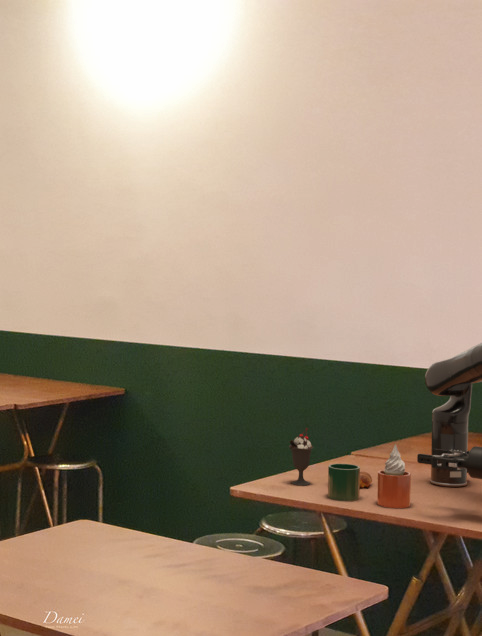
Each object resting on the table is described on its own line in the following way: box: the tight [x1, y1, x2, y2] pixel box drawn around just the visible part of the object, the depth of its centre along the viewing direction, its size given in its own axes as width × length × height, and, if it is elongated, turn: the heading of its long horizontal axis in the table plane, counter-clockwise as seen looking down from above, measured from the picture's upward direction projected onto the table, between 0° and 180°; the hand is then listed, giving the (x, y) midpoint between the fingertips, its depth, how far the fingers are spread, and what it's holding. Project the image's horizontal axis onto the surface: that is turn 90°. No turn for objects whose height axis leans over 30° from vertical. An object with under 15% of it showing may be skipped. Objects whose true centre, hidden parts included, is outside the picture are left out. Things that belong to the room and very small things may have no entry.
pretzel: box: [360, 471, 373, 488], centre depth 294 cm, size 12×11×4 cm
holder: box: [376, 469, 412, 509], centre depth 272 cm, size 8×8×8 cm
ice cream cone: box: [383, 443, 406, 476], centre depth 272 cm, size 5×5×15 cm
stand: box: [327, 463, 361, 502], centre depth 280 cm, size 8×8×8 cm
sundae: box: [288, 427, 315, 486], centre depth 296 cm, size 7×7×15 cm
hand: (425, 455), depth 266 cm, fingers open, 8 cm apart
